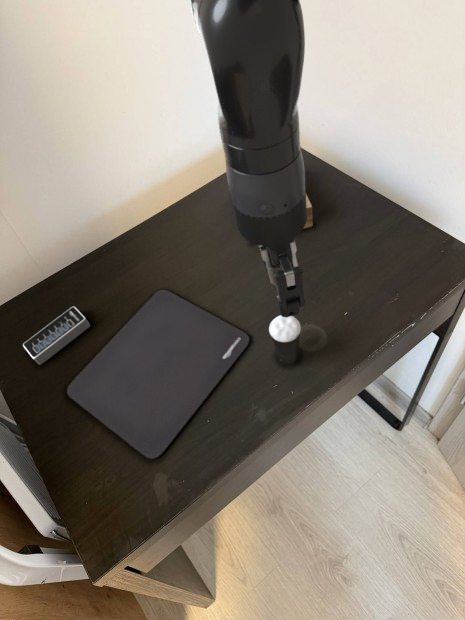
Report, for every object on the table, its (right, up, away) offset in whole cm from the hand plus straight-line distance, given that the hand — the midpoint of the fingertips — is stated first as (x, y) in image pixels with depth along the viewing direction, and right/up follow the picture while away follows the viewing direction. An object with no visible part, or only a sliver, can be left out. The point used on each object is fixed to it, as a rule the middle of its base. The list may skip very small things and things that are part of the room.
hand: (280, 287), depth 60 cm
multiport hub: (-37, -8, +24) cm, 45 cm away
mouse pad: (-18, -12, +18) cm, 28 cm away
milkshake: (+3, -11, +15) cm, 18 cm away
